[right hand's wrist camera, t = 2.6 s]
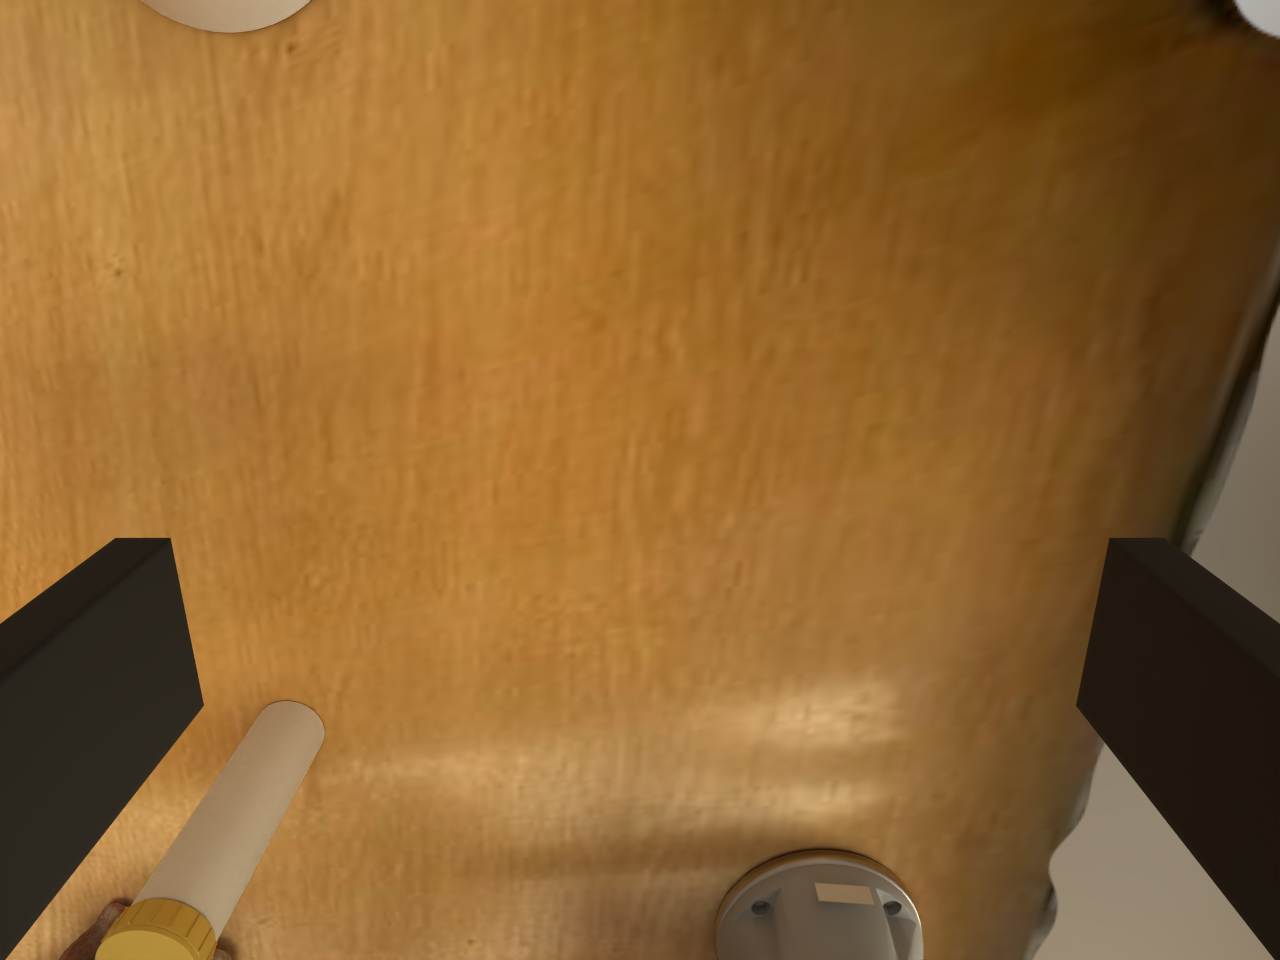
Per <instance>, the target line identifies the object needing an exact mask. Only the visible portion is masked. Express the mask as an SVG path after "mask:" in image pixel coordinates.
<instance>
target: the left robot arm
mask: <svg viewBox="0 0 1280 960" xmlns="http://www.w3.org/2000/svg"><path fill="white" fill-rule="evenodd" d="M140 1H141V2H143V3H144V4H145V5H147V6H148V7H150V8H151V9H153V10H155V11H156V12H158V13H160V14H162V15H163V16H165V17H167V18H169V19H172V20H174V21H176V22H179V23H181V24H184V25H187V26H190V27H193V28H197V29H201V30H206V31H212V32H223V33H235V32H246V31H253V30H257V29H261V28H265V27H268V26H271V25H273V24H275V23H278V22H280V21H282V20H284V19H286V18H288V17H290V16H291V15H293V14H294V13H296V12H297V11H299V10H300V9H301V8H303V7H304V6H305V5H306V4H307V3H308V2H310V1H311V0H140Z"/></svg>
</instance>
